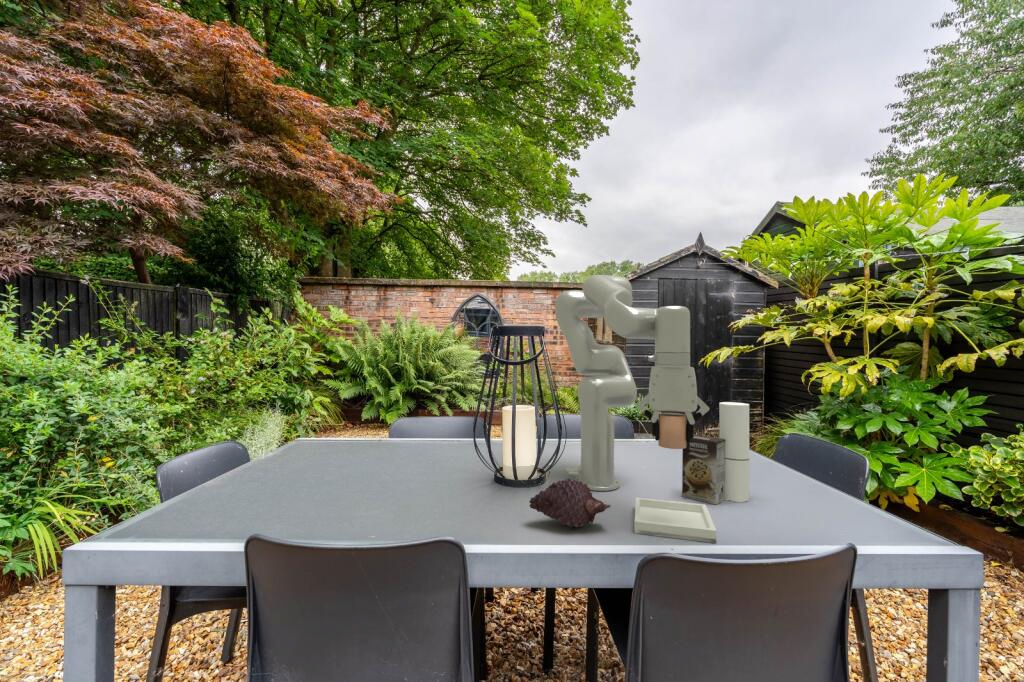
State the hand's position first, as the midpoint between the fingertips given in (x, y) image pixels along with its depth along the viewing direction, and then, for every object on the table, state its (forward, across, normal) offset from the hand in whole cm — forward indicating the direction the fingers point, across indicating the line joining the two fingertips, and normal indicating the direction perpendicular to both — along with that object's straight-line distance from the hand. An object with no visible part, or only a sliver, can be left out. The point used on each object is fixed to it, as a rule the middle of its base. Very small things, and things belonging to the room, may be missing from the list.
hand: (672, 439), depth 100 cm
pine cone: (+19, -22, -8) cm, 30 cm away
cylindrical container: (+19, +17, +24) cm, 35 cm away
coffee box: (+19, +9, +21) cm, 30 cm away
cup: (+1, 0, 0) cm, 1 cm away
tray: (+19, 0, 0) cm, 19 cm away
